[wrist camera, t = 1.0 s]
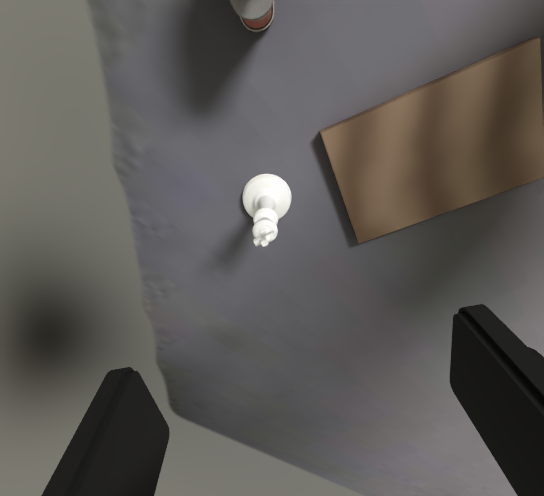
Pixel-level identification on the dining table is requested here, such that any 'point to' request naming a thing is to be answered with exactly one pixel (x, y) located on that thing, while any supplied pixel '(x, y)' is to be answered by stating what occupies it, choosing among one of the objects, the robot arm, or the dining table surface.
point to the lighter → (254, 13)
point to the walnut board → (442, 143)
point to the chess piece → (266, 205)
